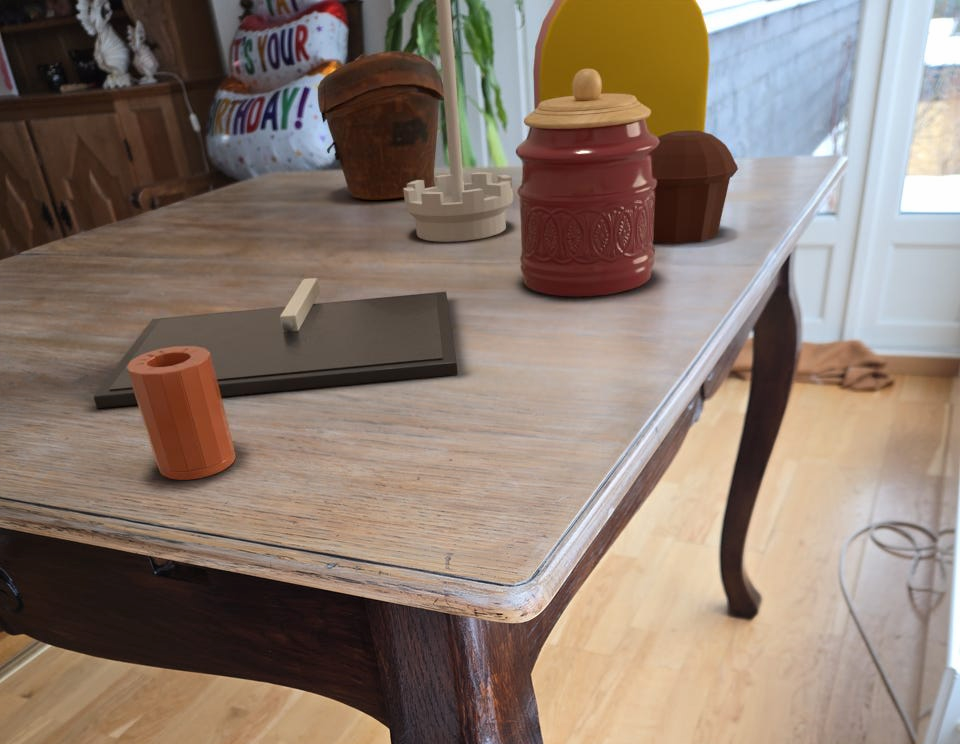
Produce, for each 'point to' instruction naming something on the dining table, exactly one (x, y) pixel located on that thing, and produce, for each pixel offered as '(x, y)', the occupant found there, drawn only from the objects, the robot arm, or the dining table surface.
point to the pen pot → (182, 411)
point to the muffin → (690, 186)
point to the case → (383, 121)
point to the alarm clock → (629, 56)
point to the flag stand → (456, 173)
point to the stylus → (300, 305)
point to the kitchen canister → (587, 193)
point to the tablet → (305, 346)
